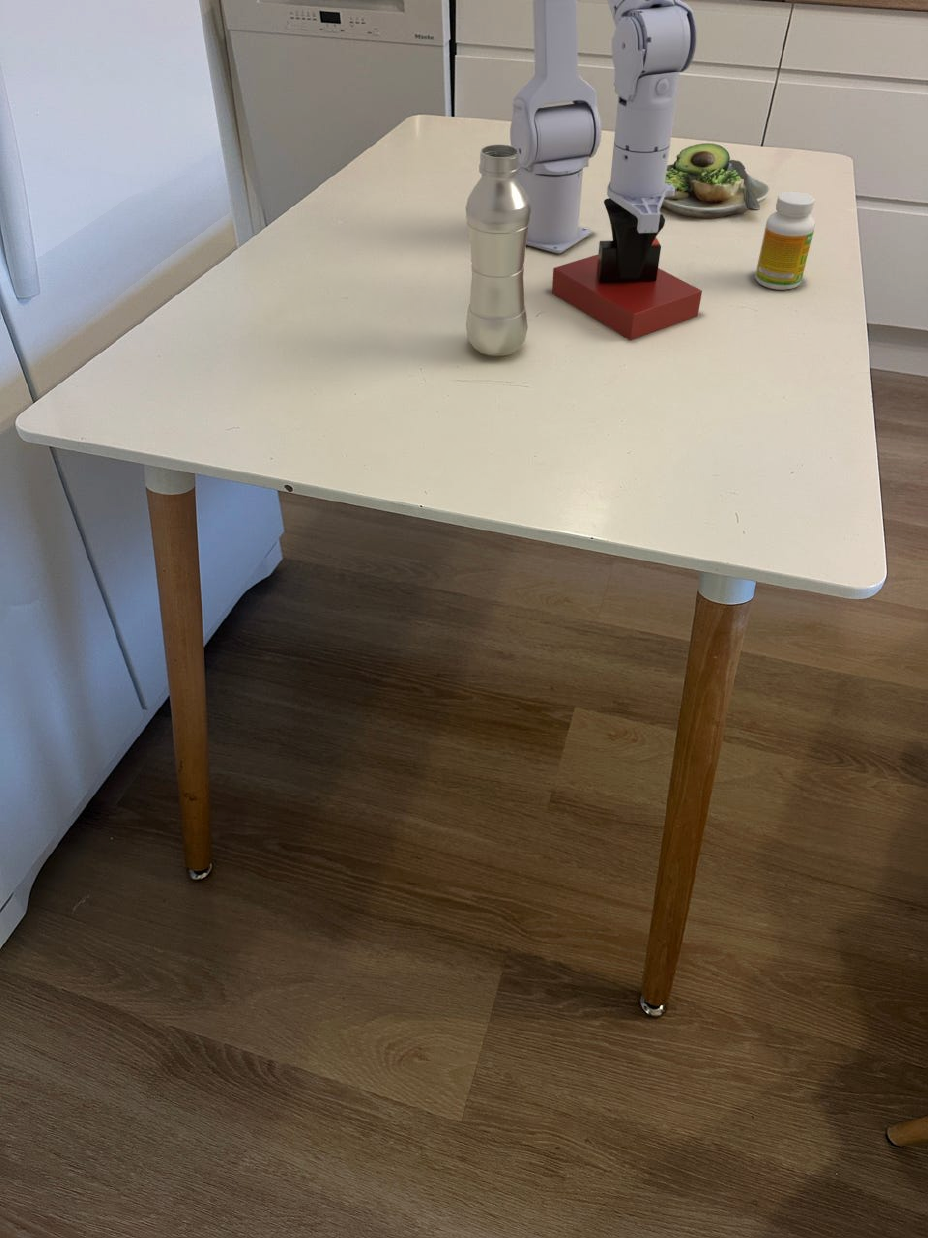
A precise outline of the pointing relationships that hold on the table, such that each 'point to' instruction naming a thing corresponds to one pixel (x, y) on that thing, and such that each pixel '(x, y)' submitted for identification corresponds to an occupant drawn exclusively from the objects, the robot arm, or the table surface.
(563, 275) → the red rectangular block
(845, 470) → the table surface
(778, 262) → the supplement bottle
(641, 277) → the block
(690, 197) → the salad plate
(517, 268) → the metal water bottle
